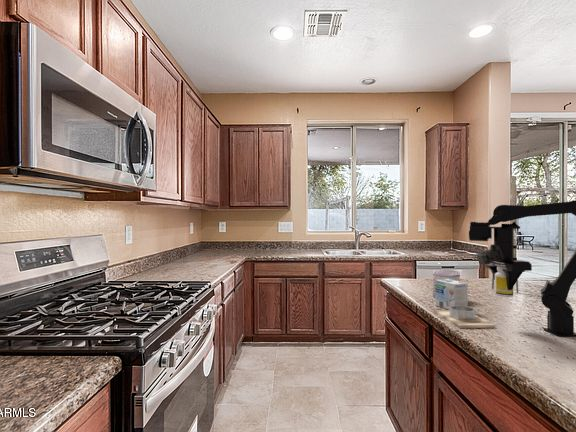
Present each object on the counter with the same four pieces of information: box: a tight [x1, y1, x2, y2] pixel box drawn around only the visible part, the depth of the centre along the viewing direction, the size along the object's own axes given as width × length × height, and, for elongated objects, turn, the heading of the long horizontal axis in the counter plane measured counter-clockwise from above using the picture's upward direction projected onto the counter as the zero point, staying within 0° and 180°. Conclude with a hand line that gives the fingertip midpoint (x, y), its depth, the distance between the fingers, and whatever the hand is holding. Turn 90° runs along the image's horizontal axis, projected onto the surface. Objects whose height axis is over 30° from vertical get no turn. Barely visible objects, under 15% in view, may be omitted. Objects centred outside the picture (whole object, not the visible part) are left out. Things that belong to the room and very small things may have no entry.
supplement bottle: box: [494, 265, 514, 298], centre depth 117 cm, size 5×5×10 cm
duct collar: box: [450, 306, 477, 321], centre depth 123 cm, size 8×8×3 cm
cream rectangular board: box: [434, 309, 496, 329], centre depth 123 cm, size 18×12×1 cm, turn 2°
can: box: [432, 269, 461, 299], centre depth 155 cm, size 11×11×12 cm
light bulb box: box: [434, 279, 469, 310], centre depth 139 cm, size 11×7×11 cm, turn 19°
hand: (503, 288), depth 117 cm, fingers closed on supplement bottle, 5 cm apart
